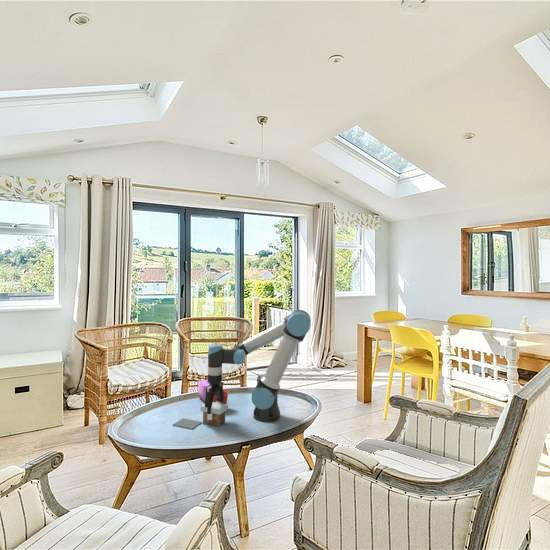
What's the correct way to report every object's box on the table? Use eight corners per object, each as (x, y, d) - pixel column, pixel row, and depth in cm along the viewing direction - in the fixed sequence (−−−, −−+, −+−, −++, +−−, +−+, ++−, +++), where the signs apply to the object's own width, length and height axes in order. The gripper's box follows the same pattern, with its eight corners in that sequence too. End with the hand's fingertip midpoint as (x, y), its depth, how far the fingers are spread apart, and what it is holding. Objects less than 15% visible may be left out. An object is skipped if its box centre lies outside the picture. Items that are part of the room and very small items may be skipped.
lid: (227, 412, 199) (228, 404, 199) (220, 417, 192) (220, 409, 191) (208, 408, 203) (208, 401, 203) (200, 413, 196) (200, 406, 196)
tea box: (225, 422, 198) (225, 409, 198) (219, 426, 193) (219, 413, 193) (209, 419, 202) (209, 406, 202) (202, 423, 197) (203, 410, 197)
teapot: (196, 396, 239) (197, 377, 239) (211, 394, 243) (212, 375, 243) (206, 406, 221) (206, 385, 221) (222, 404, 226) (222, 383, 226)
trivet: (201, 423, 197) (201, 421, 197) (192, 429, 189) (192, 428, 189) (183, 419, 202) (183, 418, 202) (172, 425, 194) (172, 424, 194)
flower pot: (224, 413, 211) (224, 396, 211) (206, 411, 213) (206, 395, 213) (230, 407, 221) (230, 390, 221) (212, 405, 223) (213, 389, 223)
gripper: (218, 368, 208) (218, 408, 209) (197, 378, 189) (197, 422, 189) (230, 370, 206) (229, 411, 206) (210, 380, 186) (209, 425, 186)
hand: (214, 416), depth 197 cm, fingers closed on lid, 8 cm apart
